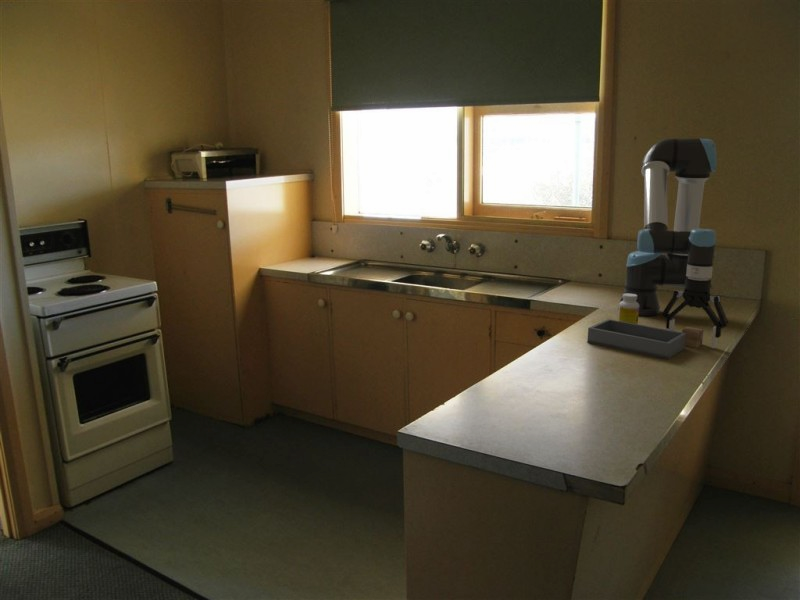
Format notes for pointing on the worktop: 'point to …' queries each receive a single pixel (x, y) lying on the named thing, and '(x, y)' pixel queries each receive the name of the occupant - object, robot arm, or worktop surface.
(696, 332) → the walnut cube
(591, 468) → the worktop surface
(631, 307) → the supplement bottle
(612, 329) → the tray
